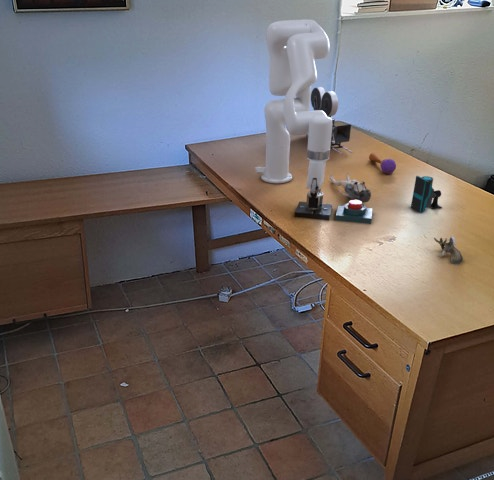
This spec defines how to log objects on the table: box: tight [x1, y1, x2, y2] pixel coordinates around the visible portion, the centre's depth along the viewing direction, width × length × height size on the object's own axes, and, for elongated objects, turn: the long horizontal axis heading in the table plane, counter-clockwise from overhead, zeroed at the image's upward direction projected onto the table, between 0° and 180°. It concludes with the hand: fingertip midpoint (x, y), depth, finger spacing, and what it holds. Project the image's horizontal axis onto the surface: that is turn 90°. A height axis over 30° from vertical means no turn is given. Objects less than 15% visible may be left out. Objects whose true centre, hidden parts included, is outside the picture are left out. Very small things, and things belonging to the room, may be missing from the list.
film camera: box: [305, 86, 354, 155], centre depth 261 cm, size 40×12×24 cm, turn 17°
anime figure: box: [329, 173, 372, 204], centre depth 210 cm, size 10×7×30 cm
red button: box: [348, 199, 363, 210], centre depth 192 cm, size 4×4×2 cm
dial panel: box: [294, 201, 334, 221], centre depth 197 cm, size 12×10×2 cm
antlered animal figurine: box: [433, 235, 464, 265], centre depth 166 cm, size 8×7×9 cm
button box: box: [334, 202, 374, 225], centre depth 193 cm, size 12×9×4 cm
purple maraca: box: [368, 152, 397, 175], centre depth 236 cm, size 6×6×20 cm
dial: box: [305, 190, 324, 211], centre depth 195 cm, size 6×6×6 cm
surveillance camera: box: [410, 175, 443, 214], centre depth 196 cm, size 6×12×10 cm
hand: (314, 203), depth 196 cm, fingers open, 5 cm apart
